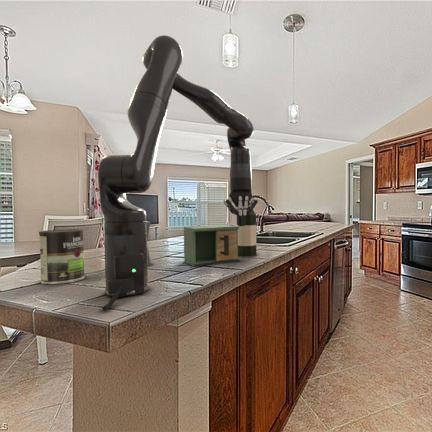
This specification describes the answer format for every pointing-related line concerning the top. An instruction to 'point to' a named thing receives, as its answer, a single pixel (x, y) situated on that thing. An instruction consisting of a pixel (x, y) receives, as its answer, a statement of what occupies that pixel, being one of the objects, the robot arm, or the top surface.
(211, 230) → the cupboard
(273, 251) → the top surface
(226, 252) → the sliding door
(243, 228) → the wine bottle
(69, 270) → the coffee can
